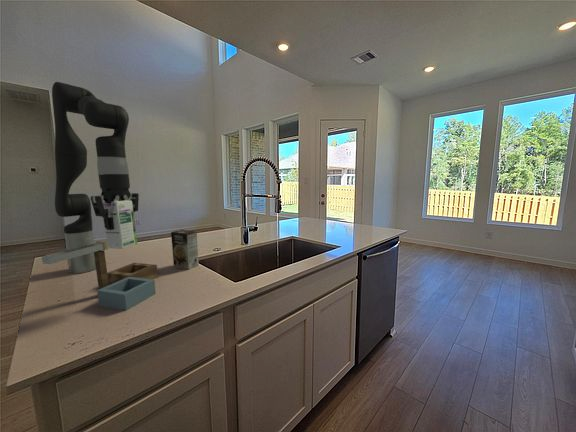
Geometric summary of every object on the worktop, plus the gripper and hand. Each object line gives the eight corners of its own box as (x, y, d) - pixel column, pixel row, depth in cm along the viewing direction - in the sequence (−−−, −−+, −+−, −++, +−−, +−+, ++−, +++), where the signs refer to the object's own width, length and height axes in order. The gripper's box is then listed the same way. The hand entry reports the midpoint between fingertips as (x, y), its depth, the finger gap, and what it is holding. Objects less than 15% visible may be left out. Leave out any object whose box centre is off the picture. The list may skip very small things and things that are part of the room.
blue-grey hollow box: (99, 305, 75) (97, 290, 75) (130, 290, 86) (128, 276, 85) (126, 310, 73) (124, 294, 72) (155, 293, 83) (154, 279, 82)
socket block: (89, 294, 83) (83, 250, 81) (135, 274, 101) (131, 238, 98) (114, 298, 80) (109, 253, 78) (157, 276, 98) (154, 239, 95)
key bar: (42, 264, 67) (40, 255, 67) (100, 248, 83) (99, 241, 82) (51, 265, 66) (49, 256, 66) (108, 249, 82) (107, 241, 81)
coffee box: (173, 267, 108) (170, 232, 105) (184, 262, 114) (181, 229, 111) (188, 270, 104) (186, 233, 102) (199, 265, 110) (197, 230, 108)
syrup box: (122, 249, 73) (116, 201, 71) (106, 248, 74) (100, 201, 72) (137, 244, 79) (132, 199, 77) (122, 243, 80) (117, 199, 78)
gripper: (125, 173, 81) (131, 223, 84) (78, 172, 67) (86, 231, 70) (143, 173, 79) (148, 223, 82) (99, 172, 65) (106, 233, 68)
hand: (120, 227), depth 76 cm, fingers closed on syrup box, 6 cm apart
